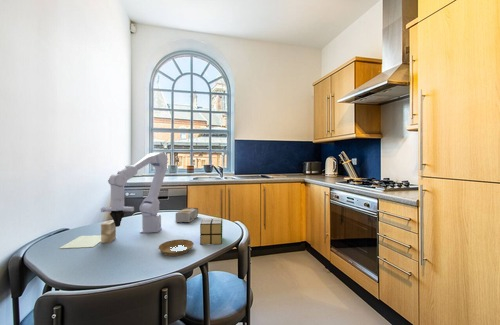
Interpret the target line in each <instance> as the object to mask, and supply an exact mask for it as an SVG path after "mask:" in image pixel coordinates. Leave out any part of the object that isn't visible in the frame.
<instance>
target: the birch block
mask: <svg viewBox="0 0 500 325" xmlns="http://www.w3.org/2000/svg"><path fill="white" fill-rule="evenodd" d="M116 228H117V227H115V223H114V220H106V221H104V222H103V223H101V224H100V235H101V242H100V243H101V244H111V243H112V242H114V241H115V240H116V239H117V234H116V233H117V230H116Z"/></svg>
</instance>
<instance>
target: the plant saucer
mask: <svg viewBox="0 0 500 325" xmlns="http://www.w3.org/2000/svg"><path fill="white" fill-rule="evenodd" d="M178 245H182V246H183V245H184V247H187V249H186V250H183V251H177V252H176V251H171V250H170V249H172V248H173V247H175V246H176V247H178ZM194 245H195V244H194V242H193V241H192V240H189V239H180V238H178V239H172V240H168V241H165V242H163V243H161V244H160V245H158V250H159V251H160V253H162V254H163V255H165V256H171V257H173V256H174V257H176V256H181V254H182V255H184V253H185V254H187V253H188V252H189V251H190V250H191V249H192V248H193V246H194ZM170 247H172V248H170ZM176 247H175V248H176ZM186 252H187V253H186Z"/></svg>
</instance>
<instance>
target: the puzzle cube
mask: <svg viewBox="0 0 500 325" xmlns="http://www.w3.org/2000/svg"><path fill="white" fill-rule="evenodd" d="M199 225H200V227H199V228H200V229H199V231H200V232H199V234H200V236H199V242H200V243H199V245H200V246H203V244H210V245H212V244H215V245H222V244H223V218H222V217H221V218H220V217H219V218H218V217H217V218H214V217H213V218H211V217H210V218H209V217H208V218H202V220H201V222H200V224H199Z"/></svg>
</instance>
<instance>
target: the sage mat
mask: <svg viewBox="0 0 500 325" xmlns="http://www.w3.org/2000/svg"><path fill="white" fill-rule="evenodd" d="M100 243H101V234H100V235H99V234H98V235H94V234H93V235H80V236H78V237H76V238H74V239H72V240H71V241H69V242H67V243H65V244H64V245H62V246H59V248H58V249H59V250H60V249H61V250H64V249H84V248H86V249H87V248H88V249H89V248H94V247H96V246H97V245H99V244H100Z"/></svg>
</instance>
